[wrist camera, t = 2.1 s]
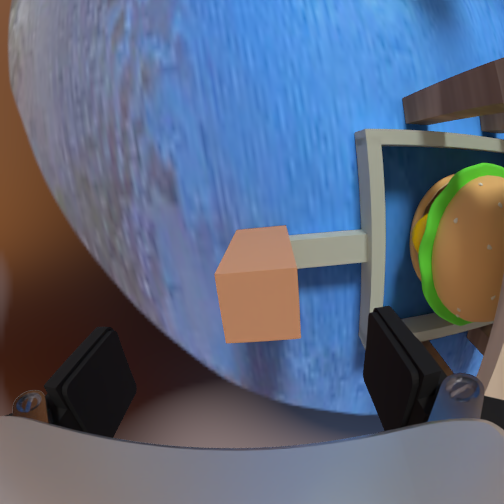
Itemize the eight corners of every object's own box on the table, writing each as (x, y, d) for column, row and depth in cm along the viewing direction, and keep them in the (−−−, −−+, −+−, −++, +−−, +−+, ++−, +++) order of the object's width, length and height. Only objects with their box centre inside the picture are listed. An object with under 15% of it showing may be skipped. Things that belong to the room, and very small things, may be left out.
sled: (511, 144, 17) (581, 147, 9) (500, 306, 22) (552, 349, 13) (226, 142, 20) (194, 125, 11) (251, 345, 24) (242, 427, 15)
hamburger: (365, 219, 21) (419, 252, 12) (467, 134, 18) (539, 131, 10) (429, 325, 23) (475, 382, 15) (513, 245, 20) (572, 275, 12)
